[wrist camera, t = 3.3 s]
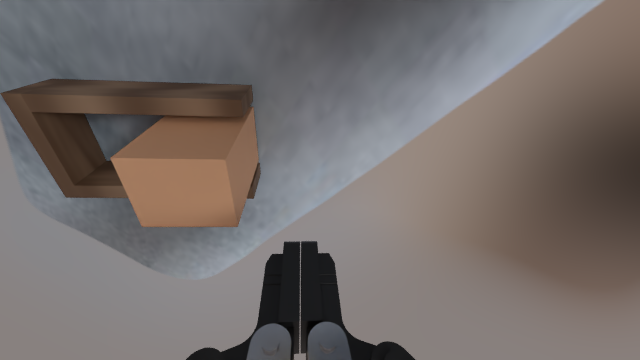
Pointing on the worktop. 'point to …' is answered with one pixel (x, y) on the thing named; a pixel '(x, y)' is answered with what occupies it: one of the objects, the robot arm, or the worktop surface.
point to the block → (190, 170)
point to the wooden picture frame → (108, 98)
